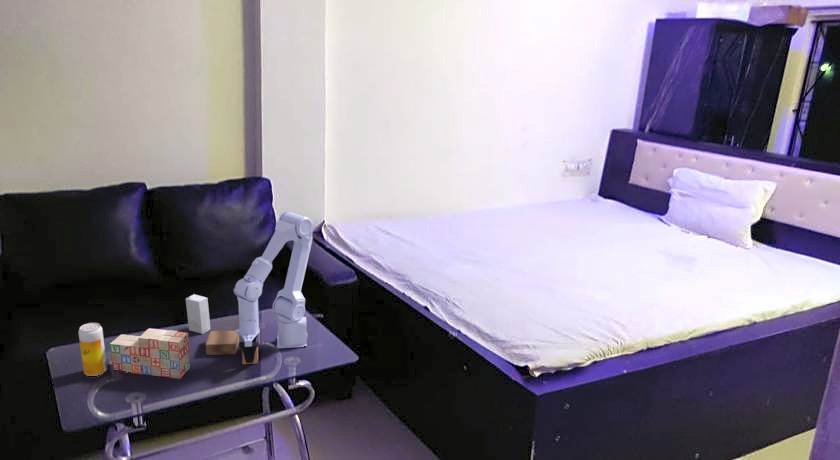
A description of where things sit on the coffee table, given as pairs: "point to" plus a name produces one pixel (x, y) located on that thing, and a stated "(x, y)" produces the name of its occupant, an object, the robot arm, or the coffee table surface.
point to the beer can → (92, 349)
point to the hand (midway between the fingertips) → (250, 356)
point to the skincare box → (198, 313)
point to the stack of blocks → (152, 353)
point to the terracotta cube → (254, 358)
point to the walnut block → (222, 343)
